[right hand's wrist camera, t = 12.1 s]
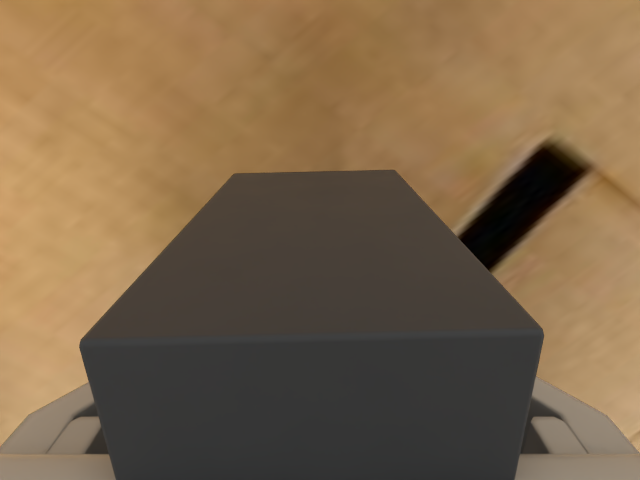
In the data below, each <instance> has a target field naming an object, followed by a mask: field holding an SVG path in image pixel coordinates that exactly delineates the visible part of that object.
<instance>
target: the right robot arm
mask: <svg viewBox="0 0 640 480" xmlns="http://www.w3.org/2000/svg"><path fill="white" fill-rule="evenodd" d="M0 480H116V478H115V475H114V471H113V467H112V464H111V460H110V456H109V453H108V449H107V446H106V442H105V438H104V435H103V431H102V427H101V424H100V420H99V417H98V413H97V409H96V406H95V402H94V398H93V395H92V391H91V388H90V384H89V382H88V383H86V384H84V385H82V386H81V387H79V388H77V389H75V390H73V391H71V392H70V393H68V394H66V395H64V396H62V397H60V398H59V399H57V400H55V401H53V402H51V403H49V404H48V405H46V406H44V407H42V408H40V409H38V410H37V411H35V412H33V413H31V414H29V415H28V416H27V417H26V418H25V419H24V421H23V422H22V423H21V424H20V425H19V426H18V427H17V429H16V430H15V431H14V432H13V433H12V434H11V435H10V436H9V438H8V439H7V440H6V441H5V442H4V443H3V444H2V446H1V447H0ZM515 480H640V453H639V452H638V451H637V450H636V448H635V447H634V446H633V445H632V444H631V443H630V441H629V440H628V439H627V438H626V437H625V436H624V434H623V433H622V432H621V431H620V430H619V429H618V428H617V426H616V425H615V424H614V423H613V422H612V421H611V419H610V418H609V417H608V416H607V415H605V414H603V413H602V412H600V411H598V410H596V409H594V408H593V407H591V406H589V405H587V404H585V403H584V402H582V401H580V400H578V399H576V398H575V397H573V396H571V395H569V394H567V393H565V392H564V391H562V390H560V389H558V388H556V387H555V386H553V385H551V384H549V383H547V382H546V381H544V380H542V379H540V378H538V377H537V376H536V378H535V383H534V388H533V392H532V397H531V402H530V407H529V412H528V417H527V422H526V427H525V432H524V436H523V441H522V446H521V451H520V456H519V461H518V466H517V471H516V476H515Z"/></svg>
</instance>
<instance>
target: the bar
mask: <svg viewBox="0 0 640 480" xmlns="http://www.w3.org/2000/svg"><path fill="white" fill-rule="evenodd" d="M543 339H544V333H543V330H542V328H541V327H540V326H539V325H538V323H537V322H536V321H535V320H534V319H533V318H532V317H531V316H530V315H529V314H528V313H527V312H526V311H525V310H524V308H523V307H522V306H521V305H520V304H519V303H518V302H517V301H516V300H515V299H514V298H513V297H512V296H511V294H510V293H509V292H508V291H507V290H506V289H505V288H504V287H503V286H502V285H501V284H500V283H499V282H498V280H497V279H496V278H495V277H494V276H493V275H492V274H491V273H490V272H489V271H488V270H487V269H486V268H485V267H484V265H483V264H482V263H481V262H480V261H479V260H478V259H477V258H476V257H475V256H474V255H473V254H472V253H471V251H470V250H469V249H468V248H467V247H466V246H465V245H464V244H463V243H462V242H461V241H460V240H459V239H458V237H457V236H456V235H455V234H454V233H453V232H452V231H451V230H450V229H449V228H448V227H447V226H446V225H445V223H444V222H443V221H442V220H441V219H440V218H439V217H438V216H437V215H436V214H435V213H434V212H433V211H432V210H431V208H430V207H429V206H428V205H427V204H426V203H425V202H424V201H423V200H422V199H421V198H420V197H419V196H418V194H417V193H416V192H415V191H414V190H413V189H412V188H411V187H410V186H409V185H408V184H407V183H406V182H405V180H404V179H403V178H402V177H401V176H400V175H399V174H398V173H397V172H396V171H395V170H366V171H323V172H280V173H238V174H233V175H232V176H231V178H230V179H229V180H228V181H227V182H226V183H225V184H224V185H223V186H222V187H221V188H220V189H219V191H218V192H217V193H216V194H215V195H214V196H213V197H212V198H211V199H210V200H209V201H208V203H207V204H206V205H205V206H204V207H203V208H202V209H201V210H200V211H199V212H198V213H197V214H196V216H195V217H194V218H193V219H192V220H191V221H190V222H189V223H188V224H187V225H186V226H185V227H184V229H183V230H182V231H181V232H180V233H179V234H178V235H177V236H176V237H175V238H174V239H173V240H172V242H171V243H170V244H169V245H168V246H167V247H166V248H165V249H164V250H163V251H162V252H161V253H160V255H159V256H158V257H157V258H156V259H155V260H154V261H153V262H152V263H151V264H150V265H149V266H148V268H147V269H146V270H145V271H144V272H143V273H142V274H141V275H140V276H139V277H138V278H137V279H136V281H135V282H134V283H133V284H132V285H131V286H130V287H129V288H128V289H127V290H126V291H125V292H124V294H123V295H122V296H121V297H120V298H119V299H118V300H117V301H116V302H115V303H114V304H113V305H112V307H111V308H110V309H109V310H108V311H107V312H106V313H105V314H104V315H103V316H102V317H101V318H100V320H99V321H98V322H97V323H96V324H95V325H94V326H93V327H92V328H91V329H90V330H89V331H88V333H87V334H86V335H85V336H84V337H83V338H82V339H81V341H80V347H79V348H80V351H81V355H82V359H83V362H84V366H85V369H86V373H87V377H88V380H89V384H90V388H91V391H92V395H93V398H94V402H95V406H96V409H97V413H98V417H99V420H100V424H101V427H102V431H103V435H104V438H105V442H106V446H107V449H108V453H109V456H110V460H111V464H112V467H113V471H114V475H115V478H116V480H515V476H516V471H517V466H518V461H519V456H520V451H521V446H522V441H523V436H524V432H525V427H526V422H527V417H528V412H529V407H530V402H531V397H532V392H533V388H534V383H535V378H536V373H537V368H538V363H539V358H540V353H541V348H542V344H543Z"/></svg>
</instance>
